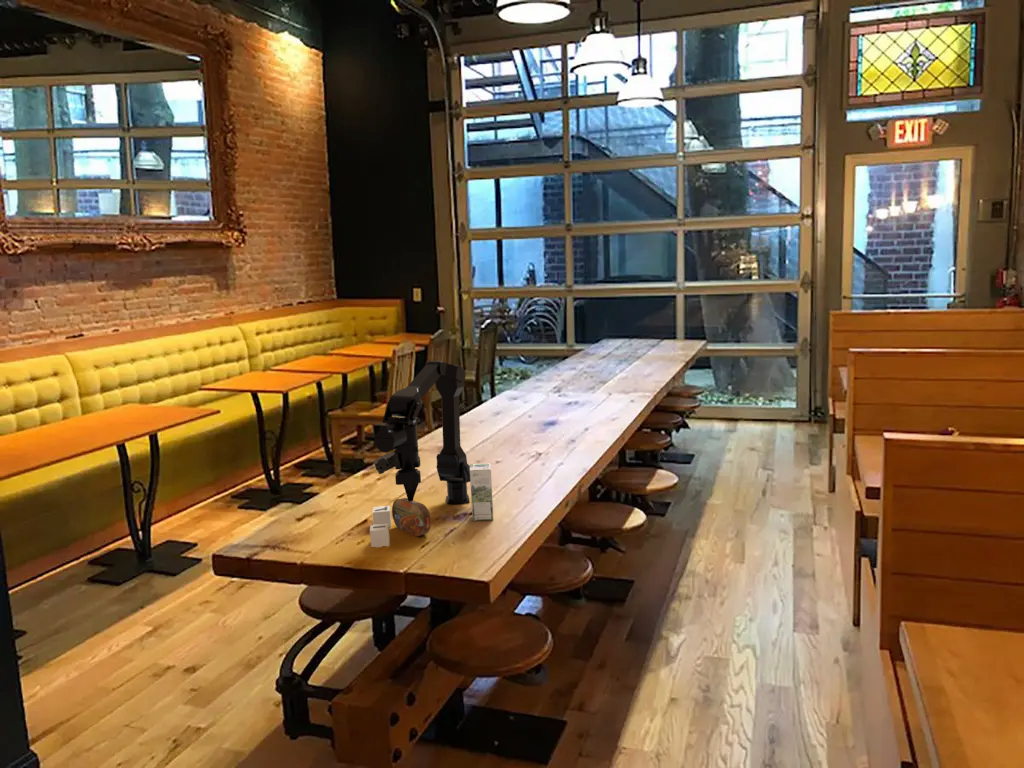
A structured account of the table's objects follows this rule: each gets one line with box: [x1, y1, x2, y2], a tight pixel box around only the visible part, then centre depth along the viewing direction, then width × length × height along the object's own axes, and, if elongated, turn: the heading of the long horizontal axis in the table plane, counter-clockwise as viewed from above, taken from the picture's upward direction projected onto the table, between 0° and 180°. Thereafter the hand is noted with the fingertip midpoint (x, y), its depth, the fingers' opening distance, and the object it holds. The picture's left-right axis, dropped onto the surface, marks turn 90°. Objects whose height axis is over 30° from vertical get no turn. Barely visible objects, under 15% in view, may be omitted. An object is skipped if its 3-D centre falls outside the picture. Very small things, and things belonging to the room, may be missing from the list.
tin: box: [391, 497, 432, 537], centre depth 216 cm, size 15×3×8 cm, turn 40°
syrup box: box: [469, 462, 494, 522], centre depth 223 cm, size 6×6×14 cm
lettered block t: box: [372, 505, 392, 528], centre depth 222 cm, size 4×4×5 cm
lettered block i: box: [369, 523, 391, 548], centre depth 208 cm, size 4×4×5 cm
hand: (410, 500), depth 215 cm, fingers closed, pressing on tin
